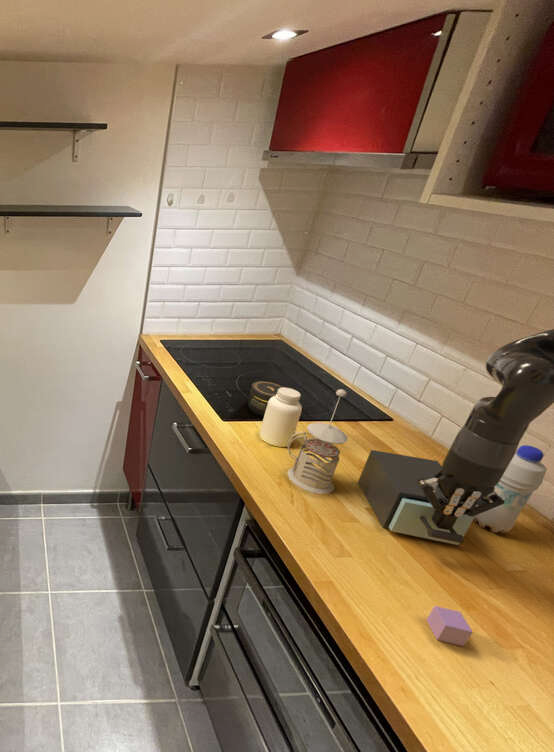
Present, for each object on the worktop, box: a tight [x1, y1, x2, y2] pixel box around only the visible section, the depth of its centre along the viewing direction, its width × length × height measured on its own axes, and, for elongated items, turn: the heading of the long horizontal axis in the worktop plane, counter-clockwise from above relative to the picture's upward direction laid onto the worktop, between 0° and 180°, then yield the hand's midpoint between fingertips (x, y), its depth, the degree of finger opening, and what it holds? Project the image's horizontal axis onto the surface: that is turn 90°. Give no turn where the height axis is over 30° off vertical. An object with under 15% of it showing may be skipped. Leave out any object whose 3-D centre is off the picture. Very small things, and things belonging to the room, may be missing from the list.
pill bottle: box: [259, 387, 303, 448], centre depth 120 cm, size 8×8×15 cm
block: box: [425, 605, 474, 647], centre depth 73 cm, size 4×4×4 cm
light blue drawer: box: [389, 496, 476, 546], centre depth 93 cm, size 19×12×8 cm, turn 163°
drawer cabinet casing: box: [357, 449, 476, 530], centre depth 97 cm, size 15×13×10 cm
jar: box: [247, 380, 285, 417], centre depth 136 cm, size 10×10×8 cm
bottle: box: [473, 444, 547, 534], centre depth 92 cm, size 7×7×20 cm
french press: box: [286, 388, 349, 495], centre depth 103 cm, size 10×12×25 cm
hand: (440, 526), depth 87 cm, fingers closed
